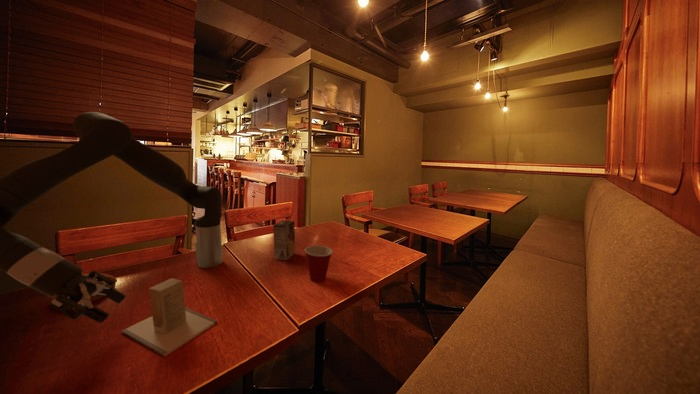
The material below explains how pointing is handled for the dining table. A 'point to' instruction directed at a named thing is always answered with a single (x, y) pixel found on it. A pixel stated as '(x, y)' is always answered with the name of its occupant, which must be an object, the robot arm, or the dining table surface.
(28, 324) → the dining table surface
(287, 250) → the coffee box
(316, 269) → the plastic cup
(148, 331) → the mat
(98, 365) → the dining table surface
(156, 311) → the skincare box
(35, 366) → the dining table surface
